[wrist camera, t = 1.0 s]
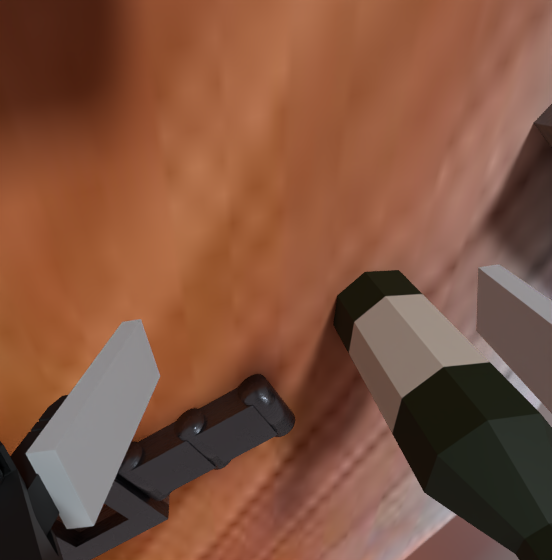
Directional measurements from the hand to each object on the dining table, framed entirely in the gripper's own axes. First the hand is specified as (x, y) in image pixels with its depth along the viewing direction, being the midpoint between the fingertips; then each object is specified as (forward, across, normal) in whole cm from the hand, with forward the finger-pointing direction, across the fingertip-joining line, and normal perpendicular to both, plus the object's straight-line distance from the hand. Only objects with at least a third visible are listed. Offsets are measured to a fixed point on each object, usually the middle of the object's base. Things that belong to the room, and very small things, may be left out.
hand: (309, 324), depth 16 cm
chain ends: (+16, -26, -25) cm, 39 cm away
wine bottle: (+20, +6, -10) cm, 23 cm away
